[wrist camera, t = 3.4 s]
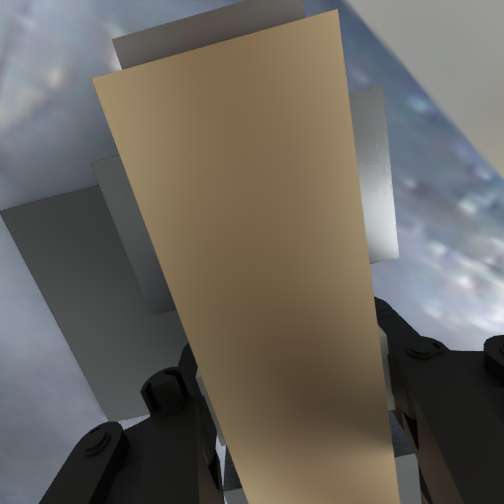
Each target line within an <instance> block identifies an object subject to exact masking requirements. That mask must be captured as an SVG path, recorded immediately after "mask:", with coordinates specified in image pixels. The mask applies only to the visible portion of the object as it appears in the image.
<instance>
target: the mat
mask: <svg viewBox="0 0 504 504" xmlns="http://www.w3.org/2000/svg"><path fill="white" fill-rule="evenodd" d="M0 215H1V217H2V219H3V221H4V222H5V224H6V226H7V228H8V230H9V232H10V234H11V236H12V238H13V240H14V241H15V243H16V245H17V247H18V249H19V251H20V253H21V255H22V257H23V259H24V261H25V262H26V264H27V266H28V268H29V270H30V272H31V274H32V276H33V278H34V280H35V281H36V283H37V285H38V287H39V289H40V291H41V293H42V295H43V297H44V299H45V301H46V302H47V304H48V306H49V308H50V310H51V312H52V314H53V316H54V318H55V320H56V322H57V323H58V325H59V327H60V329H61V331H62V333H63V335H64V337H65V339H66V341H67V342H68V344H69V346H70V348H71V350H72V352H73V354H74V356H75V358H76V360H77V362H78V363H79V365H80V367H81V369H82V371H83V373H84V375H85V377H86V379H87V381H88V382H89V384H90V386H91V388H92V390H93V392H94V394H95V396H96V398H97V400H98V402H99V403H100V405H101V407H102V409H103V411H104V413H105V415H106V417H107V419H108V421H113V422H116V421H121V420H125V419H130V418H135V417H139V416H144V415H148V414H150V412H149V410H148V408H147V406H146V404H145V402H144V399H143V397H142V395H141V393H140V391H141V388H142V386H143V384H144V383H145V382H146V381H147V380H148V379H149V378H150V377H151V376H153V375H154V374H155V373H157V372H159V371H161V370H163V369H165V368H169V367H178V363H179V360H180V357H181V354H182V351H183V348H184V347H185V346H186V344H187V343H188V342H189V341H188V338H187V336H186V333H185V330H184V327H183V325H182V322H181V319H180V317H179V314H178V311H177V310H174V311H170V312H166V313H162V314H157V315H153V316H152V315H151V312H150V310H149V307H148V305H147V302H146V300H145V297H144V295H143V292H142V290H141V287H140V285H139V282H138V280H137V277H136V275H135V273H134V270H133V268H132V265H131V263H130V260H129V258H128V255H127V253H126V250H125V248H124V245H123V243H122V240H121V238H120V235H119V233H118V230H117V228H116V225H115V223H114V220H113V218H112V215H111V213H110V211H109V208H108V206H107V203H106V201H105V198H104V196H103V193H102V191H101V188H100V186H99V185H97V186H93V187H89V188H85V189H81V190H78V191H74V192H70V193H66V194H62V195H59V196H55V197H51V198H47V199H43V200H40V201H36V202H32V203H28V204H24V205H20V206H17V207H13V208H9V209H5V210H1V211H0Z"/></svg>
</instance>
